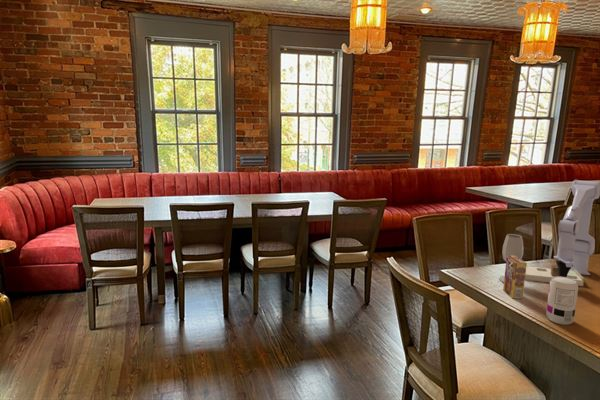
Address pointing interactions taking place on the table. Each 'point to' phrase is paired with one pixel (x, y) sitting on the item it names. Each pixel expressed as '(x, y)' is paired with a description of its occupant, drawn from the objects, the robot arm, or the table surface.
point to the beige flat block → (546, 276)
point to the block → (554, 270)
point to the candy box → (514, 277)
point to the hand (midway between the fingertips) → (562, 277)
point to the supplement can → (562, 300)
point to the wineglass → (512, 248)
